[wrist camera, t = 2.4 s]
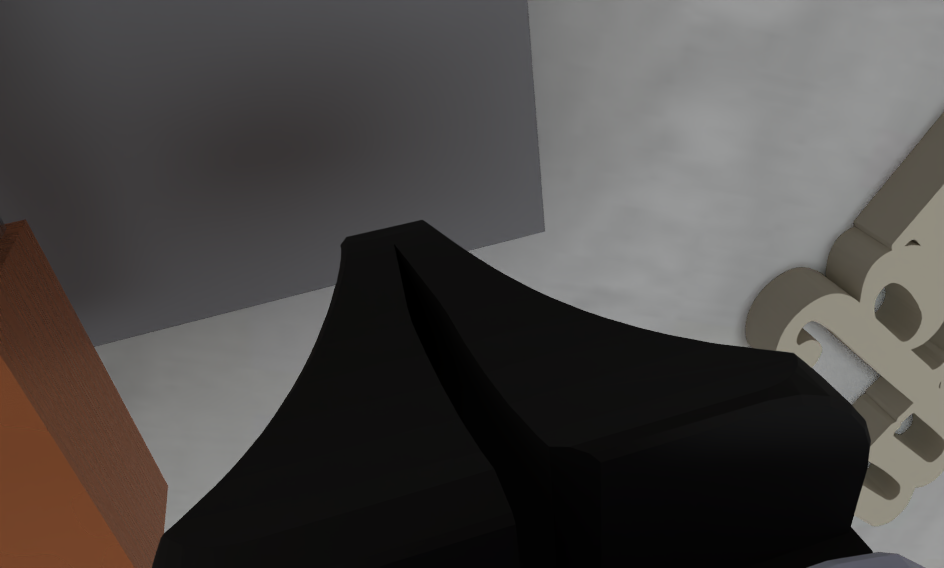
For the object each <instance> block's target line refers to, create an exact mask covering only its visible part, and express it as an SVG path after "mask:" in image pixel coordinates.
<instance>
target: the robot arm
mask: <svg viewBox="0 0 944 568" xmlns="http://www.w3.org/2000/svg"><path fill="white" fill-rule="evenodd" d="M340 246H341V261H340V268H339V273H338V277H337V282H336V286H335V289H334V293H333V296H332V300H331V303H330V307H329V310H328V313H327V315H326V318H325V320H324V323H323V325H322V328H321V330H320V333H319V335H318V338H317V341H316V343H315V345H314V347H313V350H312V352H311V354H310V356H309V358H308V360H307V362H306V364H305V366H304V368H303V370H302V371H301V373H300V375H299V377H298V379H297V381H296V382H295V384H294V386H293V388H292V389H291V391H290V392H289V394H288V395H287V397H286V399H285V400H284V402H283V403H282V405H281V406H280V408H279V409H278V411H277V412H276V414H275V416H274V417H273V418H272V420H271V421H270V423H269V424H268V425H267V427H266V428H265V430H264V431H263V432H262V434H261V435H260V436H259V437H258V439H257V440H256V441H255V442H254V443H253V445H252V446H251V447H250V448H249V449H248V451H247V452H246V453H245V454H244V455H243V457H242V458H241V459H240V460H239V461H238V462H237V463H236V465H235V466H234V467H233V468H232V469H231V470H230V471H229V472H228V473H227V474H226V475H225V477H224V478H223V479H222V480H221V481H220V482H219V483H218V484H217V485H216V486H215V487H214V488H213V489H212V490H210V491H209V492H208V493H207V494H206V495H205V496H204V497H203V498H202V499H201V500H200V501H199V502H198V503H197V504H196V505H195V506H194V507H193V508H191V509H190V510H189V511H188V512H187V513H186V514H185V515H184V516H183V517H182V518H181V519H180V520H179V521H178V522H177V523H176V524H174V525H173V526H172V527H171V528H170V529H169V530H168V531H166V532H165V533H164V534H163V535H162V537H161V538H160V541H159V545H158V548H157V551H156V554H155V558H154V561H153V565H152V568H925V567H923V566H921V565H919V564H917V563H915V562H913V561H911V560H909V559H907V558H905V557H903V556H901V555H899V554H894V553H883V552H876V553H873V552H872V550H871V549H870V548H869V547H868V546H867V544H866V543H865V542H864V541H863V540H862V539H861V538H860V537H859V535H858V534H857V533H856V532H855V531H854V530H853V529H852V528H851V524H852V520H853V517H854V513H855V510H856V506H857V503H858V499H859V496H860V493H861V489H862V486H863V482H864V479H865V475H866V472H867V467H868V460H869V452H870V444H871V439H870V435H869V431H868V427H867V423H866V420H865V419H864V418H863V417H862V416H861V415H860V414H859V412H858V411H857V410H856V409H855V408H854V407H853V406H852V405H851V404H850V403H849V402H848V401H847V400H846V399H845V398H844V397H843V396H842V395H841V394H840V393H839V392H838V391H836V390H835V389H834V388H833V387H832V386H831V385H830V384H829V383H828V382H827V381H826V380H825V379H824V378H823V377H822V376H820V375H819V374H818V373H817V372H816V371H815V370H814V369H812V368H811V367H810V366H809V365H808V364H807V363H806V362H804V361H803V360H802V359H801V358H799V357H798V356H797V355H796V354H795V353H791V352H782V351H774V350H765V349H756V348H748V347H739V346H730V345H722V344H715V343H709V342H703V341H698V340H693V339H688V338H683V337H677V336H672V335H667V334H663V333H659V332H655V331H650V330H646V329H642V328H638V327H635V326H631V325H628V324H625V323H621V322H618V321H614V320H611V319H607V318H604V317H601V316H598V315H595V314H592V313H589V312H586V311H583V310H581V309H578V308H576V307H573V306H571V305H568V304H566V303H563V302H561V301H558V300H556V299H553V298H551V297H549V296H546V295H544V294H542V293H540V292H538V291H536V290H534V289H532V288H530V287H528V286H526V285H524V284H522V283H520V282H518V281H516V280H514V279H512V278H510V277H509V276H507V275H505V274H503V273H501V272H500V271H498V270H496V269H494V268H493V267H491V266H490V265H488V264H486V263H485V262H483V261H482V260H480V259H478V258H477V257H475V256H474V255H472V254H471V253H469V252H468V251H466V250H465V249H463V248H462V247H461V246H459V245H458V244H456V243H455V242H453V241H452V240H451V239H449V238H448V237H446V236H445V235H444V234H442V233H441V232H440V231H438V230H437V229H435V228H434V227H433V226H431V225H430V224H428V223H427V222H425V221H424V220H419V221H414V222H410V223H405V224H401V225H397V226H392V227H388V228H383V229H379V230H375V231H370V232H366V233H361V234H357V235H353V236H348V237H346V238H345V239H344V241H343V242H342V243H341V245H340Z"/></svg>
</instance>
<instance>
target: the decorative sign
mask: <svg viewBox="0 0 944 568" xmlns="http://www.w3.org/2000/svg"><path fill="white" fill-rule="evenodd" d="M884 287H885V289H886V296H885V299H884V302H883V304H882V306H881V307H880V309H879V310H878V311H877V312H876V313H875V312H874V306H875V301H876V298H877V296H878V294H879V293H880V292H881V290H882V289H883V288H884ZM811 321H815V322H818V323H820V324H821V325H823V326H824V327H825V328H826V329H827V330H829V331H830V332H831V333H832V334H833V335H834V336H835V337H836V338H838V339H839V340H840V341H841V342H842V343H843V344H845V345H846V346H847V347H848V348H849V349H850V350H852V351H853V352H854V353H855V354H856V355H858V356H859V357H860V358H861V359H862V360H863V361H865V362H866V363H867V364H868V365H869V366H870V367H872V368H873V369H874V370H875V371H876V372H877V373H879V374H880V375H881V376H880V377H879V378H878V379H877V380H876V381H875V382H874V383H873V384H872V385H871V386H870V387H869V388H868V389H867V390H866V392H865V394H863V395H862V396H860V397H859V398H858V399H857V400H856V401H855V402H854V404H853V405H852V406H853V407H854V408H855V409H856V410H857V411H858V412H859V414H860V415H861V416H862V417H863V418H864V419H865V420H866V423H867V427H868V431H869V435H870V439H871V444H870V452H869V460H868V461H869V462H871V465H870V466H869V468H868V469H867V472H866V475H865V479H864V482H863V486H862V489H861V493H860V496H859V499H858V503H857V506H856V510H855V513H854V515H855V516H856V517H858V518H860V519H861V520H863V521H865V522H867V523H868V524H870V525H871V526H881V525H884V524H887V523H889V522H890V521H892V520H893V519H895V518H896V517H897V516H898V515H899V514H900V513H901V512H902V511H903V510H904V509H905V508H906V506H907V505H908V503H909V501H910V499H911V496H912V494H913V492H914V489H915V488H919V487H923V486H925V485H927V484H929V483H931V482H932V481H934V480H935V479H936V478H937V477H938V476H939V475H940V474H941V473H942V472H943V470H944V113H943V114H942V115H941V116H940V117H939V119H938V120H937V121H936V122H935V123H934V125H933V126H932V127H931V128H930V130H929V131H928V132H927V133H926V134H925V136H924V137H923V138H922V139H921V140H920V142H919V143H918V144H917V145H916V147H915V148H914V149H913V150H912V151H911V153H910V154H909V155H908V156H907V157H906V159H905V160H904V161H903V162H902V163H901V165H900V166H899V167H898V168H897V170H896V171H895V172H894V173H893V174H892V176H891V177H890V178H889V179H888V180H887V182H886V183H885V184H884V185H883V187H882V188H881V189H880V190H879V191H878V193H877V194H876V195H875V196H874V197H873V199H872V200H871V201H870V202H869V204H868V205H867V206H866V207H865V208H864V210H863V211H862V212H861V213H860V214H859V216H858V217H857V218H856V219H855V220H854V227H852V228H850V229H848V230H847V231H845V232H844V233H843V234H842V235H840V236H839V237H838V239H837V240H836V241H835V243H834V244H833V246H832V248H831V251H830V253H829V257H828V261H827V266H826V276H824V275H823V274H821V273H820V272H818V271H816V270H814V269H810V268H805V267H799V268H794V269H791V270H788V271H786V272H784V273H782V274H781V275H779V276H778V277H776V278H775V279H774V280H772V281H771V282H770V283H769V284H768V285H767V286H766V287H765V288H764V289H763V290H762V291H761V292H760V293H759V295H758V296H757V297H756V299H755V300H754V302H753V304H752V306H751V308H750V310H749V313H748V316H747V321H746V328H745V333H746V339H747V342H748V344H749V345H750V346H751V347H752V348H756V349H765V350H774V351H782V352H791V353H795V354H796V355H797V356H798V357H799V358H801V359H802V360H803V361H804V362H806V363H807V364H808V365H809V366H810V367H811V368H812V367H813V366H814V365H815V364H816V362H817V361H818V359H819V357H820V355H821V353H822V346H821V344H820V343H819V342H818V341H817V340H816V339H814V338H813V337H812V336H811V335H810V334H809V333H807V332H806V331H805V330H804V329H803V327H804V325H805V324H807V323H808V322H811ZM911 414H913V422H912V424H911V426H910V427H909V429H908V430H907V431H906V432H904V433H903V434H901V435H899V434H895V431H896V430H897V429H899V428H900V426H901V422H903V421H904V420H905V419H906V418H907V417H908V416H910V415H911Z"/></svg>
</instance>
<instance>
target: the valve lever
mask: <svg viewBox="0 0 944 568" xmlns="http://www.w3.org/2000/svg"><path fill="white" fill-rule="evenodd" d="M167 491H168V485H167V483H166V481H165V479H164V478H163V476H162V474H161V472H160V470H159V468H158V466H157V464H156V463H155V461H154V459H153V457H152V455H151V453H150V451H149V449H148V448H147V446H146V444H145V442H144V440H143V438H142V436H141V434H140V433H139V431H138V429H137V427H136V425H135V423H134V421H133V419H132V418H131V416H130V414H129V412H128V410H127V408H126V406H125V404H124V403H123V401H122V399H121V397H120V395H119V393H118V391H117V389H116V388H115V386H114V384H113V382H112V380H111V378H110V376H109V374H108V373H107V371H106V369H105V367H104V365H103V363H102V361H101V359H100V358H99V356H98V354H97V352H96V350H95V348H94V346H93V344H92V343H91V341H90V339H89V337H88V335H87V333H86V331H85V329H84V328H83V326H82V324H81V322H80V320H79V318H78V316H77V314H76V313H75V311H74V309H73V307H72V305H71V303H70V301H69V299H68V298H67V296H66V294H65V292H64V290H63V288H62V286H61V284H60V283H59V281H58V279H57V277H56V275H55V273H54V271H53V269H52V268H51V266H50V264H49V262H48V260H47V258H46V256H45V254H44V253H43V251H42V249H41V247H40V245H39V243H38V241H37V239H36V238H35V236H34V234H33V232H32V230H31V228H30V226H29V224H28V223H27V221H26V220H21V221H17V222H12V223H8V224H4V223H3V221H2V219H1V217H0V568H152V565H153V561H154V558H155V554H156V551H157V548H158V545H159V541H160V538H161V537H162V535H163V534H164V524H165V513H166V502H167Z"/></svg>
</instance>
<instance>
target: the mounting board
mask: <svg viewBox="0 0 944 568" xmlns="http://www.w3.org/2000/svg"><path fill="white" fill-rule="evenodd" d="M0 217H1V219H2V221H3V223H4V224H8V223H12V222H17V221H21V220H26V221H27V223H28V224H29V226H30V228H31V230H32V232H33V234H34V236H35V238H36V239H37V241H38V243H39V245H40V247H41V249H42V251H43V253H44V254H45V256H46V258H47V260H48V262H49V264H50V266H51V268H52V269H53V271H54V273H55V275H56V277H57V279H58V281H59V283H60V284H61V286H62V288H63V290H64V292H65V294H66V296H67V298H68V299H69V301H70V303H71V305H72V307H73V309H74V311H75V313H76V314H77V316H78V318H79V320H80V322H81V324H82V326H83V328H84V329H85V331H86V333H87V335H88V337H89V339H90V341H91V343H92V344H93V346H94V347H95V346H99V345H103V344H107V343H110V342H114V341H118V340H122V339H126V338H130V337H134V336H138V335H142V334H146V333H149V332H153V331H157V330H161V329H165V328H169V327H173V326H177V325H181V324H185V323H189V322H192V321H196V320H200V319H204V318H208V317H212V316H216V315H220V314H224V313H228V312H231V311H235V310H239V309H243V308H247V307H251V306H255V305H259V304H263V303H267V302H271V301H274V300H278V299H282V298H286V297H290V296H294V295H298V294H302V293H306V292H310V291H313V290H317V289H321V288H325V287H329V286H333V285H336V282H337V277H338V273H339V268H340V261H341V246H340V245H341V243H342V242H343V241H344V239H345V238H346V237H348V236H353V235H357V234H361V233H366V232H370V231H375V230H379V229H383V228H388V227H392V226H397V225H401V224H405V223H410V222H414V221H419V220H424V221H425V222H427V223H428V224H430V225H431V226H433V227H434V228H435V229H437V230H438V231H440V232H441V233H442V234H444V235H445V236H446V237H448V238H449V239H451V240H452V241H453V242H455V243H456V244H458V245H459V246H461V247H462V248H463V249H465V250H466V251H470V250H474V249H477V248H481V247H485V246H489V245H493V244H497V243H501V242H505V241H509V240H513V239H517V238H520V237H524V236H528V235H532V234H536V233H540V232H544V231H545V225H544V212H543V199H542V186H541V173H540V160H539V147H538V134H537V121H536V108H535V95H534V81H533V68H532V55H531V42H530V29H529V16H528V3H527V0H0Z"/></svg>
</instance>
